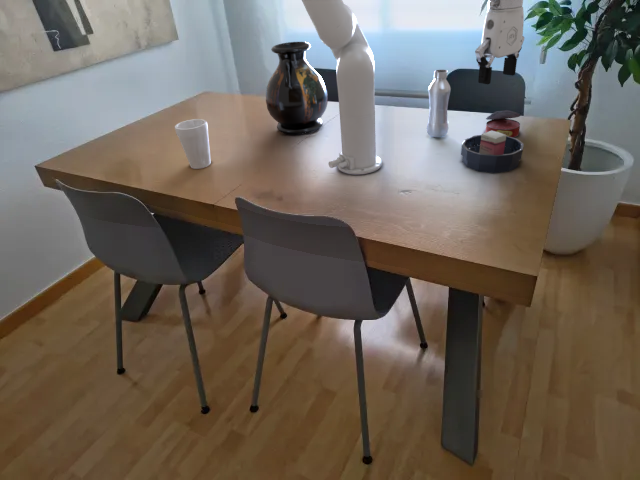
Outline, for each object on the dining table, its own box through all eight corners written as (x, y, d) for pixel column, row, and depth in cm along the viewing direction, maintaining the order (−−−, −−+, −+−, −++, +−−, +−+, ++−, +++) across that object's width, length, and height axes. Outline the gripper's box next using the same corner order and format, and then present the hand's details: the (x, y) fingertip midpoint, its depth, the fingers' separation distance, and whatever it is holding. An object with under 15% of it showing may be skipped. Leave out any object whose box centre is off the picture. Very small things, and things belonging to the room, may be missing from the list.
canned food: (484, 149, 142) (472, 120, 139) (501, 136, 146) (490, 108, 144) (516, 140, 132) (503, 109, 130) (533, 127, 136) (521, 97, 134)
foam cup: (185, 173, 135) (174, 131, 128) (185, 161, 142) (174, 122, 135) (216, 167, 136) (207, 126, 129) (214, 156, 144) (205, 117, 137)
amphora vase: (324, 138, 149) (316, 49, 134) (263, 139, 153) (249, 53, 138) (334, 117, 167) (328, 37, 151) (278, 119, 171) (267, 41, 156)
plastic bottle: (442, 141, 138) (447, 74, 127) (422, 137, 142) (425, 72, 131) (451, 134, 142) (456, 69, 132) (431, 131, 146) (434, 67, 135)
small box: (477, 161, 124) (480, 133, 120) (488, 156, 126) (491, 129, 121) (492, 166, 120) (495, 138, 116) (503, 162, 122) (507, 134, 118)
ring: (496, 178, 114) (498, 160, 111) (449, 162, 125) (450, 145, 122) (532, 161, 121) (535, 143, 118) (485, 146, 132) (487, 130, 129)
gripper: (495, 8, 96) (487, 89, 105) (542, -3, 104) (530, 73, 113) (467, 8, 101) (461, 84, 111) (514, -3, 109) (505, 69, 118)
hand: (496, 79), depth 112 cm, fingers open, 9 cm apart
